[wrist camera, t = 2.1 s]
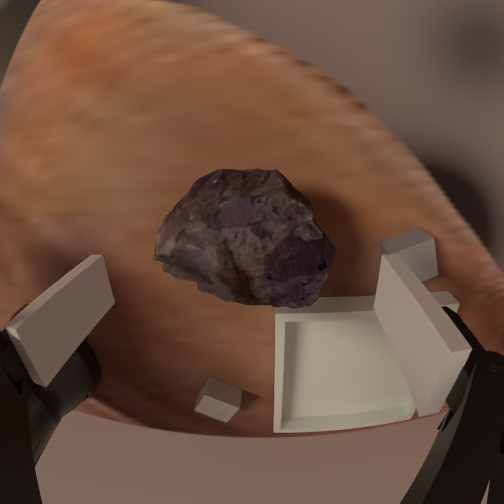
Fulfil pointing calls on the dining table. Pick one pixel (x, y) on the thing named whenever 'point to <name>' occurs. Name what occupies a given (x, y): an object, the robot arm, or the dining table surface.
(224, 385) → the matte grey cube
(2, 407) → the robot arm
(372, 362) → the dish
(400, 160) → the dining table surface
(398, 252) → the squat grey cube
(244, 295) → the rock
